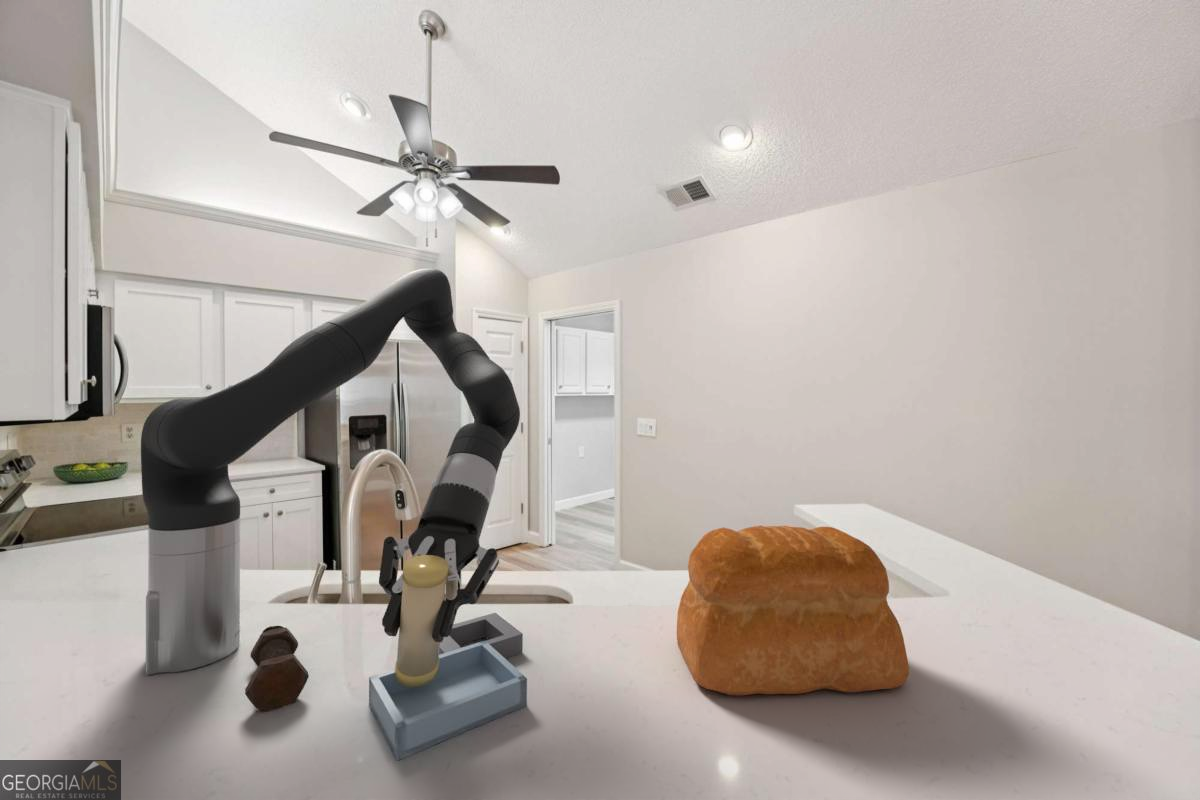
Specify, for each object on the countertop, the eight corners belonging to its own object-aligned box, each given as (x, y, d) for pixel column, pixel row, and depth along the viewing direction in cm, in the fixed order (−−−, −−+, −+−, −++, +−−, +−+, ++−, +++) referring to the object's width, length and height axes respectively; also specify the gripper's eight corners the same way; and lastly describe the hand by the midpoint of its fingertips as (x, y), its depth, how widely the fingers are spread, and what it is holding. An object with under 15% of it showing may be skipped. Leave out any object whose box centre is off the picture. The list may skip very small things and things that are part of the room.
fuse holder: (448, 678, 60) (448, 657, 60) (425, 651, 66) (426, 632, 66) (522, 652, 66) (522, 633, 66) (495, 629, 72) (495, 612, 72)
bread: (924, 697, 57) (926, 546, 57) (699, 705, 55) (700, 549, 55) (846, 632, 72) (848, 514, 72) (669, 637, 71) (670, 515, 70)
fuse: (405, 693, 53) (415, 581, 50) (387, 667, 56) (395, 561, 54) (445, 675, 56) (456, 569, 54) (426, 652, 59) (435, 551, 57)
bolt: (280, 663, 66) (286, 719, 54) (239, 653, 64) (236, 710, 52) (305, 619, 68) (316, 664, 56) (267, 608, 66) (269, 653, 53)
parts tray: (397, 760, 46) (397, 728, 46) (369, 704, 54) (369, 676, 54) (526, 705, 54) (526, 678, 54) (484, 664, 63) (484, 640, 63)
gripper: (518, 518, 66) (484, 656, 55) (414, 506, 67) (358, 639, 56) (512, 487, 61) (473, 634, 49) (399, 474, 62) (334, 616, 50)
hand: (413, 636), depth 53 cm, fingers closed on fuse, 4 cm apart
